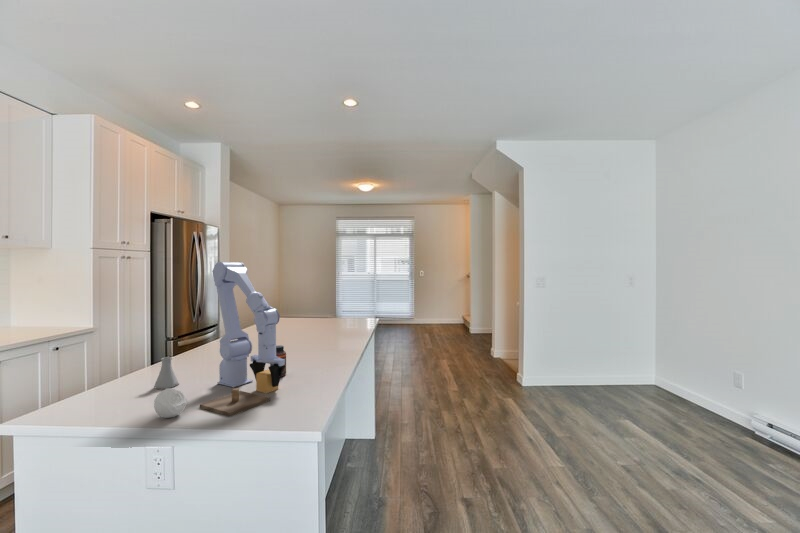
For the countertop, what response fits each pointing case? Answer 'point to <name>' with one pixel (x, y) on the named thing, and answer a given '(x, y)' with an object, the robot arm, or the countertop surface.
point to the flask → (166, 375)
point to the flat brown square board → (234, 402)
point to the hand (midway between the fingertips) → (267, 384)
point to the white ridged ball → (169, 403)
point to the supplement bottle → (281, 354)
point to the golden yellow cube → (264, 382)
